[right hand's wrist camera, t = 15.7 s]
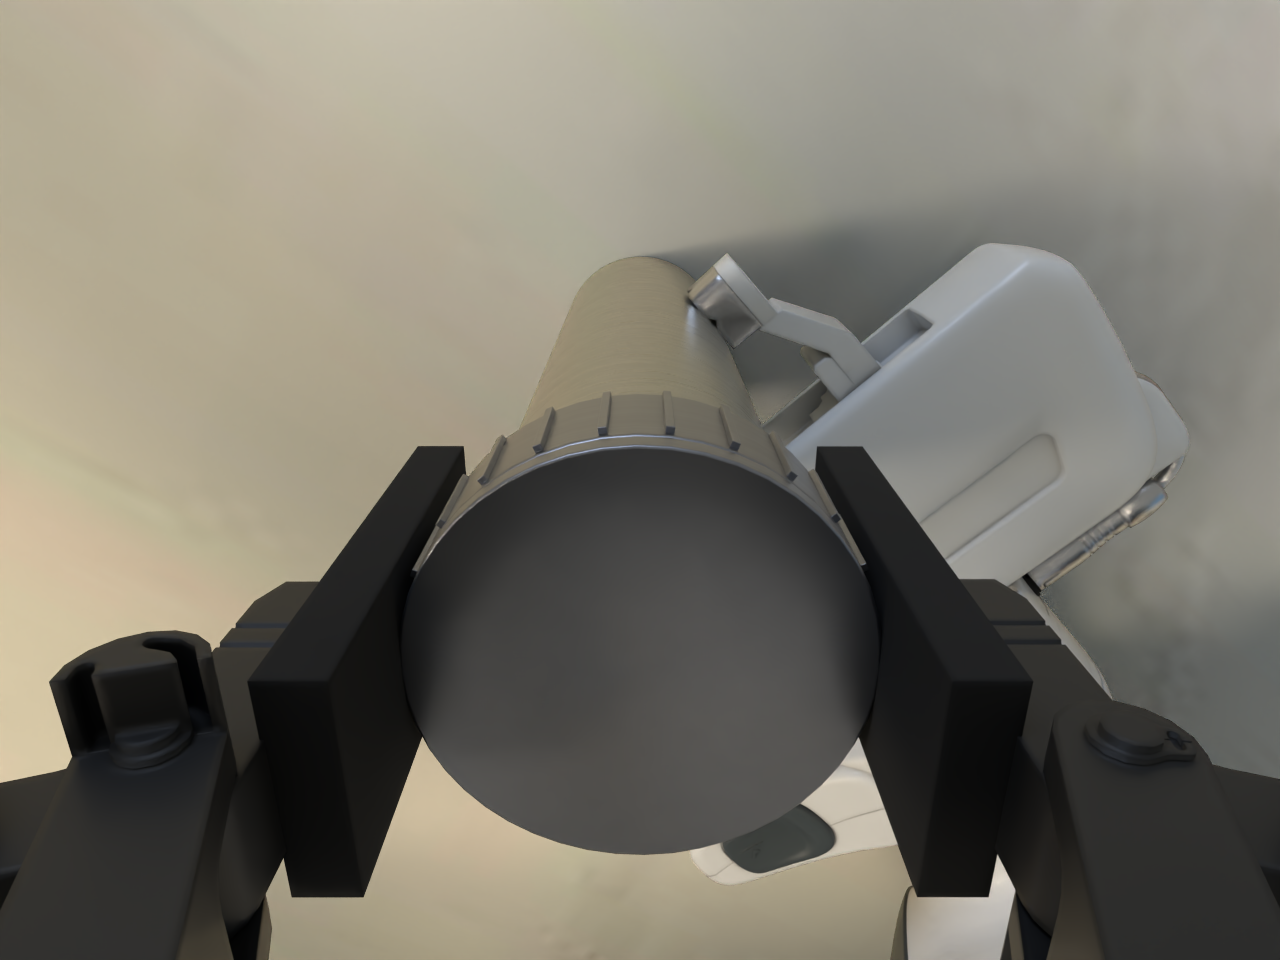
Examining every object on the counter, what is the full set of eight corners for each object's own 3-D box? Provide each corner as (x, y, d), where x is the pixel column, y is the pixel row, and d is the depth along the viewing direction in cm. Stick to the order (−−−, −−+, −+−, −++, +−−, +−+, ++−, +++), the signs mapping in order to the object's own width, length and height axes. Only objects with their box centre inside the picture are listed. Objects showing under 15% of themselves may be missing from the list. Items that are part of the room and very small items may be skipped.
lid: (909, 445, 11) (963, 509, 9) (775, 786, 14) (798, 894, 12) (471, 340, 11) (434, 383, 9) (405, 712, 13) (363, 812, 11)
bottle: (618, 427, 30) (587, 835, 12) (538, 308, 28) (372, 579, 11) (740, 354, 29) (896, 684, 11) (665, 226, 27) (709, 378, 10)
